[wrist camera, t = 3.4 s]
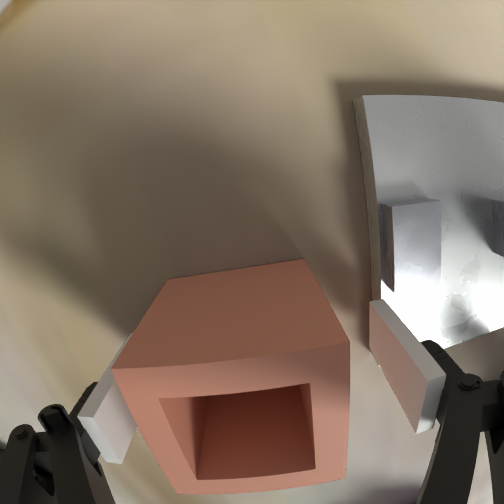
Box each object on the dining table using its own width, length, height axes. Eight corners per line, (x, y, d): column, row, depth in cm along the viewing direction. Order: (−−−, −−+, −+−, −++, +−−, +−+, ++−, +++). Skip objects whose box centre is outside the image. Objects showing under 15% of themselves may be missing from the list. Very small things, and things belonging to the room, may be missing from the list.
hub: (198, 386, 18) (177, 493, 10) (167, 279, 16) (110, 368, 9) (314, 371, 18) (345, 478, 10) (304, 258, 16) (349, 341, 8)
